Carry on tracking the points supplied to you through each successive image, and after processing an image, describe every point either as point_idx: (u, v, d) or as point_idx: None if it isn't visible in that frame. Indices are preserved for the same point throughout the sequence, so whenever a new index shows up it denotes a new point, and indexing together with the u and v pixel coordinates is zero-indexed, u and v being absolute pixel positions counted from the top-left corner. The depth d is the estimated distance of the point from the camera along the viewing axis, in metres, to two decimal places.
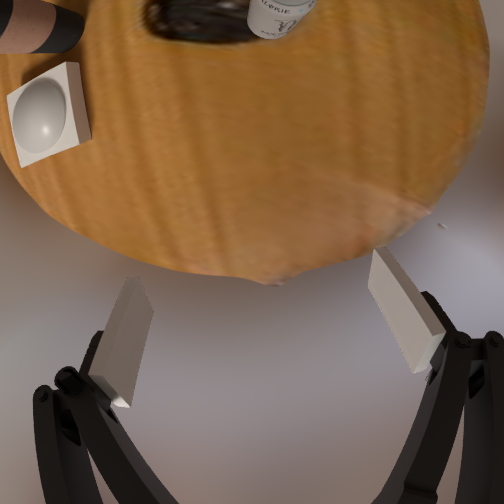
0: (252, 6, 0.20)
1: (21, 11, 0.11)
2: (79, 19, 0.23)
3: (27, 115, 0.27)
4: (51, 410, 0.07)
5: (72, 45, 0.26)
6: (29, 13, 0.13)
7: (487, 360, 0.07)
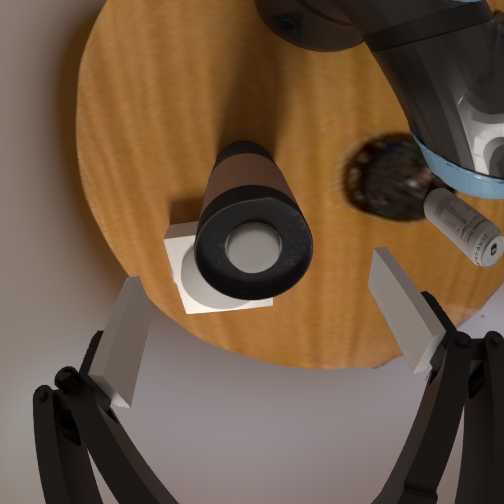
0: (458, 239, 0.30)
1: None
2: None
3: None
4: (51, 410, 0.07)
5: None
6: None
7: (487, 360, 0.07)
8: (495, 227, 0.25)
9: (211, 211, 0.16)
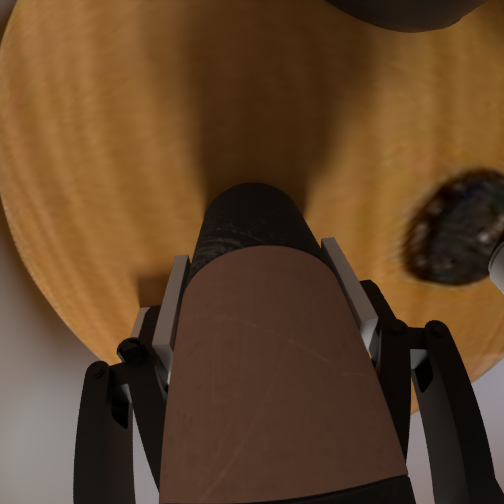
0: None
1: None
2: None
3: None
4: (104, 389, 0.09)
5: None
6: None
7: (432, 353, 0.08)
8: None
9: None
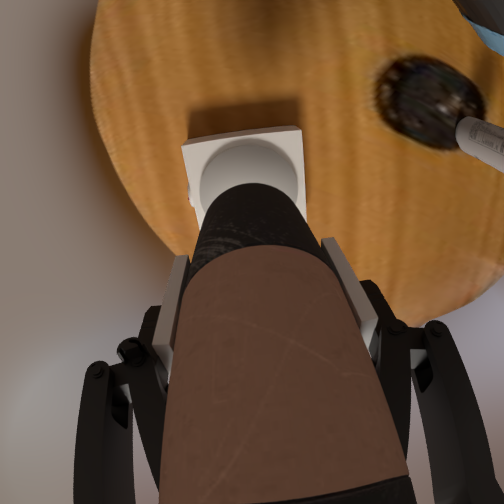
0: (498, 156, 0.23)
1: None
2: None
3: None
4: (104, 389, 0.09)
5: None
6: None
7: (431, 353, 0.08)
8: None
9: None
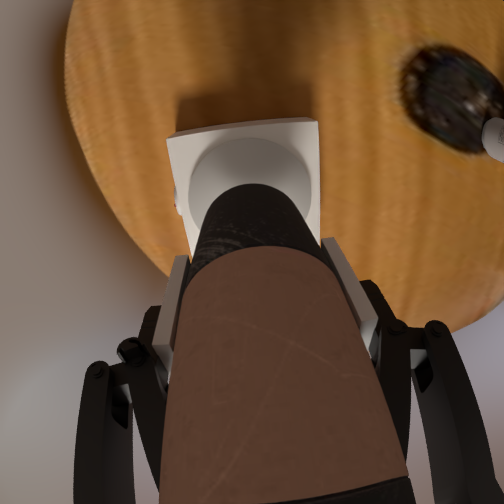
0: None
1: None
2: None
3: None
4: (104, 389, 0.09)
5: None
6: None
7: (432, 353, 0.08)
8: None
9: None
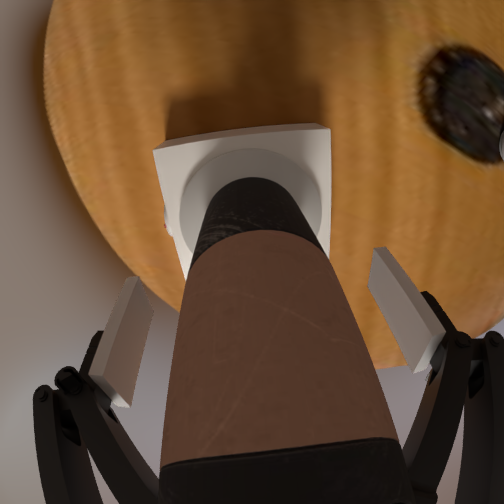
0: None
1: None
2: None
3: None
4: (51, 410, 0.07)
5: None
6: None
7: (487, 360, 0.07)
8: None
9: None
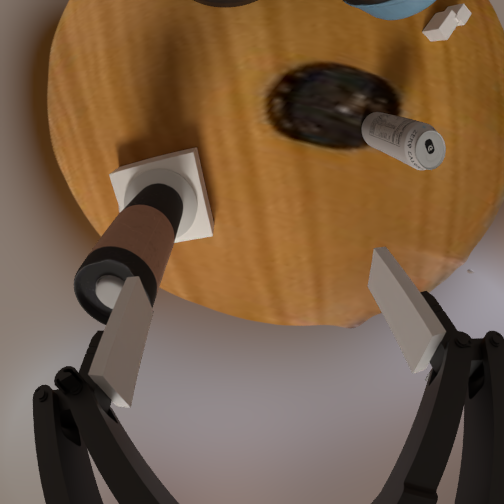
0: (391, 146, 0.30)
1: (160, 272, 0.25)
2: (179, 202, 0.37)
3: None
4: (51, 410, 0.07)
5: None
6: (163, 263, 0.26)
7: (487, 360, 0.07)
8: (427, 125, 0.25)
9: None
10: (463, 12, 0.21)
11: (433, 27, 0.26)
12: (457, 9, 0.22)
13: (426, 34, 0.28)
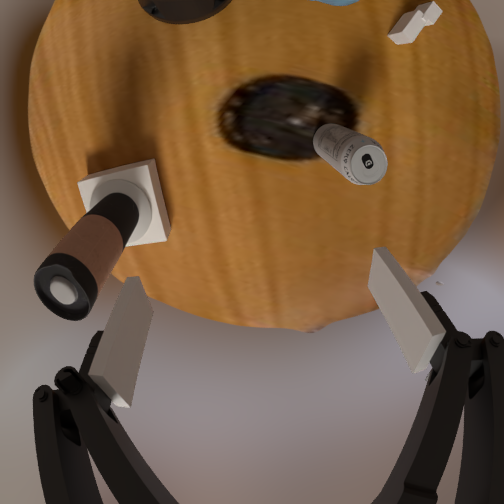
0: (332, 160, 0.33)
1: (102, 275, 0.27)
2: (134, 210, 0.39)
3: None
4: (51, 410, 0.07)
5: None
6: (106, 267, 0.29)
7: (487, 360, 0.07)
8: (368, 139, 0.28)
9: None
10: (432, 10, 0.24)
11: (398, 30, 0.28)
12: (426, 7, 0.24)
13: (391, 38, 0.31)
